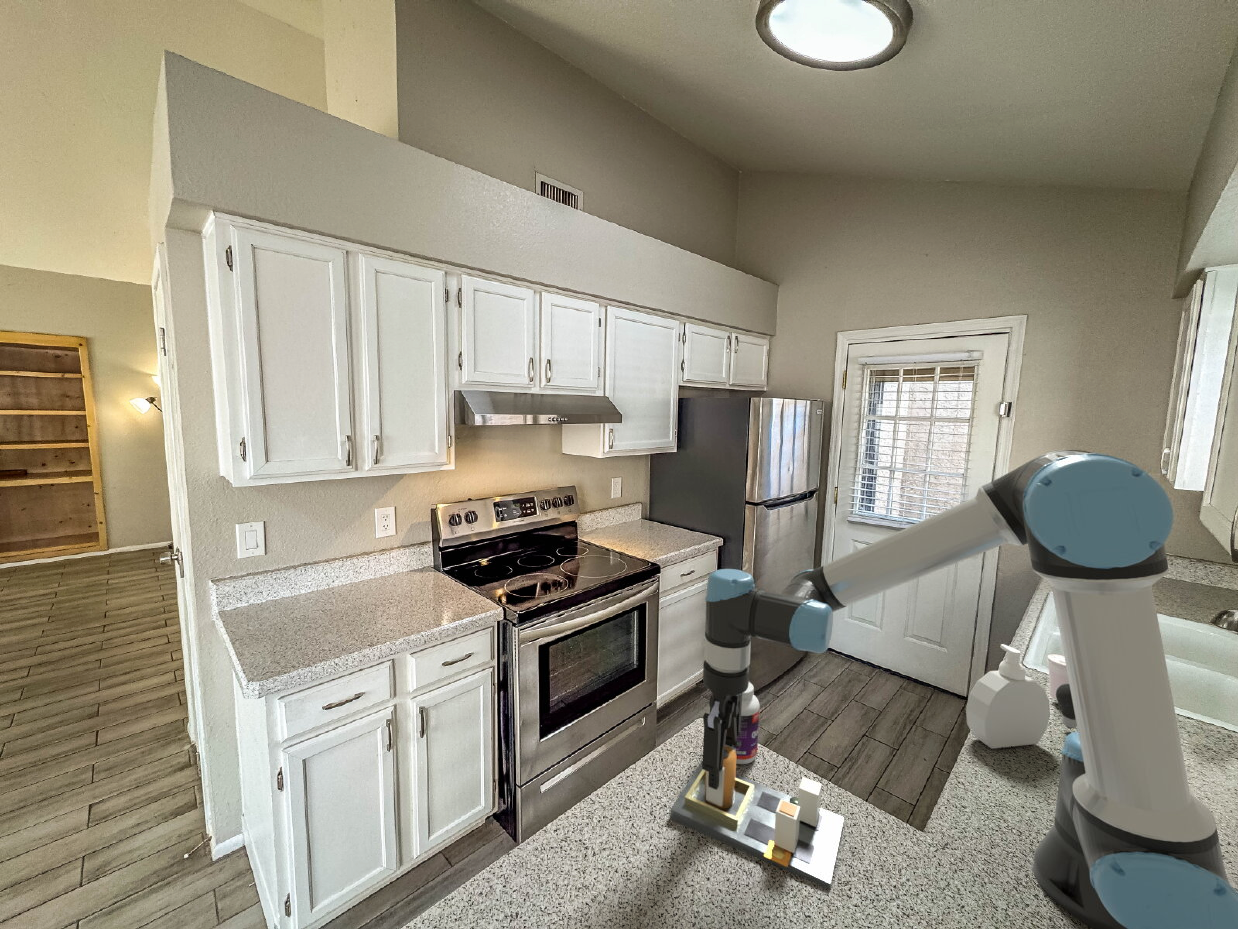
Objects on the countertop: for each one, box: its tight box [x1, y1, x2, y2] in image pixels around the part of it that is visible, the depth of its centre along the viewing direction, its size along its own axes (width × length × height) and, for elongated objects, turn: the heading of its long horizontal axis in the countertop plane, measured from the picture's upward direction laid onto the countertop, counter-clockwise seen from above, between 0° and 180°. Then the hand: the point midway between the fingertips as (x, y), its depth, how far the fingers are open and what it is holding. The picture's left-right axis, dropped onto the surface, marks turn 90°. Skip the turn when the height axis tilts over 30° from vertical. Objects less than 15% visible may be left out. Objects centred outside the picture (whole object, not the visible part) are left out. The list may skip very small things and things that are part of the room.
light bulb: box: [1056, 684, 1077, 730], centre depth 113 cm, size 6×6×10 cm
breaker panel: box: [669, 761, 845, 890], centre depth 84 cm, size 25×15×3 cm, turn 59°
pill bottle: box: [734, 681, 761, 765], centre depth 101 cm, size 8×8×14 cm
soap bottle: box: [965, 643, 1051, 750], centre depth 108 cm, size 16×5×20 cm, turn 100°
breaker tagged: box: [774, 799, 800, 853], centre depth 78 cm, size 3×3×6 cm
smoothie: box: [1046, 653, 1069, 701], centre depth 125 cm, size 6×6×14 cm
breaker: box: [797, 776, 823, 827], centre depth 83 cm, size 3×3×6 cm
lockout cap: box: [705, 746, 737, 808], centre depth 87 cm, size 5×5×8 cm
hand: (720, 791), depth 88 cm, fingers closed on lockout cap, 5 cm apart
